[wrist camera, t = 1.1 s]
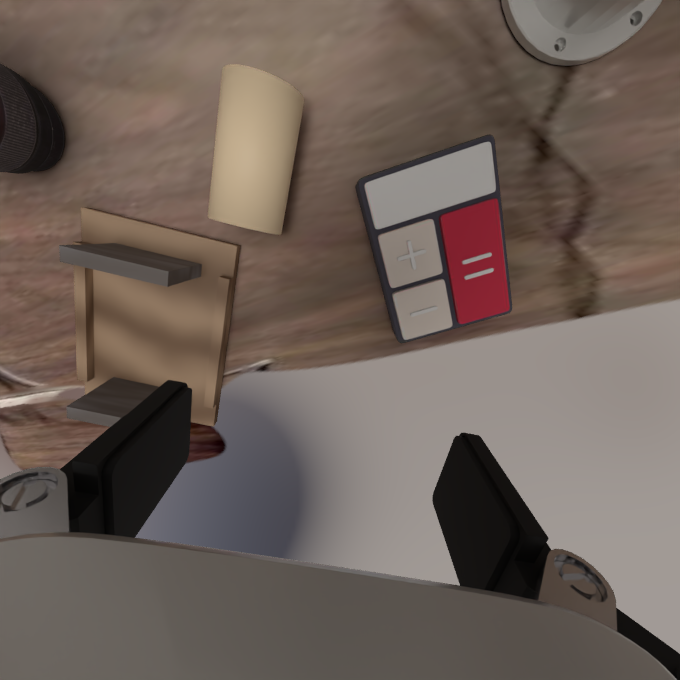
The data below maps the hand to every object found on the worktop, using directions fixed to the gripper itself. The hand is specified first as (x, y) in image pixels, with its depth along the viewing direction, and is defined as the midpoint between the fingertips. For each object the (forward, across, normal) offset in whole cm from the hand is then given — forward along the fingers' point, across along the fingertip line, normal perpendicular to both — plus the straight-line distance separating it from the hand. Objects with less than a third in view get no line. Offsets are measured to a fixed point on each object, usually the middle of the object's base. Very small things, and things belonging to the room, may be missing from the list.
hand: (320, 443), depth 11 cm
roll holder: (+22, +17, +6) cm, 28 cm away
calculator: (+23, -8, -7) cm, 25 cm away
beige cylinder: (+19, +9, -11) cm, 23 cm away
